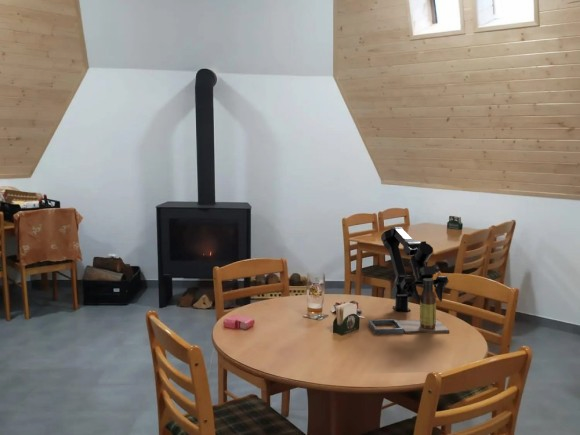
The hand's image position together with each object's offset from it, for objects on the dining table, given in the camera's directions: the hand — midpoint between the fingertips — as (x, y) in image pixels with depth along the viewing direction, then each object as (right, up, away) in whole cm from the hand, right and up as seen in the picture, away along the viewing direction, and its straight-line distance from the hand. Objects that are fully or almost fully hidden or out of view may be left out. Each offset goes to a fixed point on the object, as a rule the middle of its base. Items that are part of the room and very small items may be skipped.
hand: (430, 301), depth 202 cm
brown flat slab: (-2, -11, +5) cm, 13 cm away
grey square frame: (-17, -12, +3) cm, 21 cm away
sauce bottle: (0, -11, +3) cm, 11 cm away
